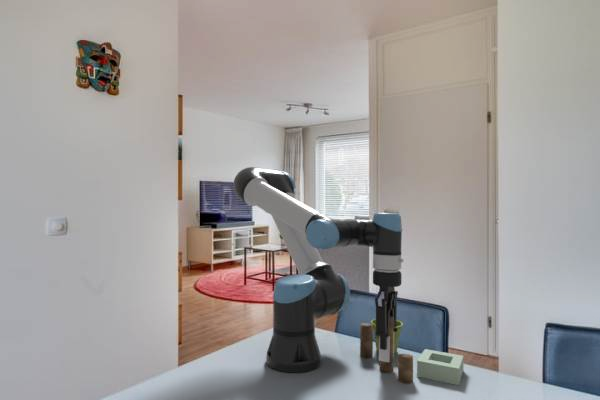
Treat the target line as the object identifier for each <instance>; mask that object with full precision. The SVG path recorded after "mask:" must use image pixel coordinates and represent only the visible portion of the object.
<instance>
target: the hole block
mask: <svg viewBox="0 0 600 400" xmlns="http://www.w3.org/2000/svg"><path fill="white" fill-rule="evenodd" d="M463 373H464V355H461V354H455V353H449V352H446V351H445V352H444V351H439V350H434V349H433V350H432V349H427V348H425V349H424V350H423V351H422V352H421V354H420V356H419V357H418V359H417V360H416V377H418V378H423V379H426V380H427V379H428V380H433V381H437V382H442V383H446V384H452V385H456V386H459V385H460V382H461V380H462V378H463V377H462V376H463Z"/></svg>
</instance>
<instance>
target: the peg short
mask: <svg viewBox="0 0 600 400" xmlns="http://www.w3.org/2000/svg"><path fill="white" fill-rule="evenodd" d="M397 356H398V358H397V360H398V361H397V365H398V366H397V381H398V382H400V383H402V384H406V385H407V384H408V385H410V384H413V382H414V356H413V355H411V354H410V353H399V354H398V355H397Z"/></svg>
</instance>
